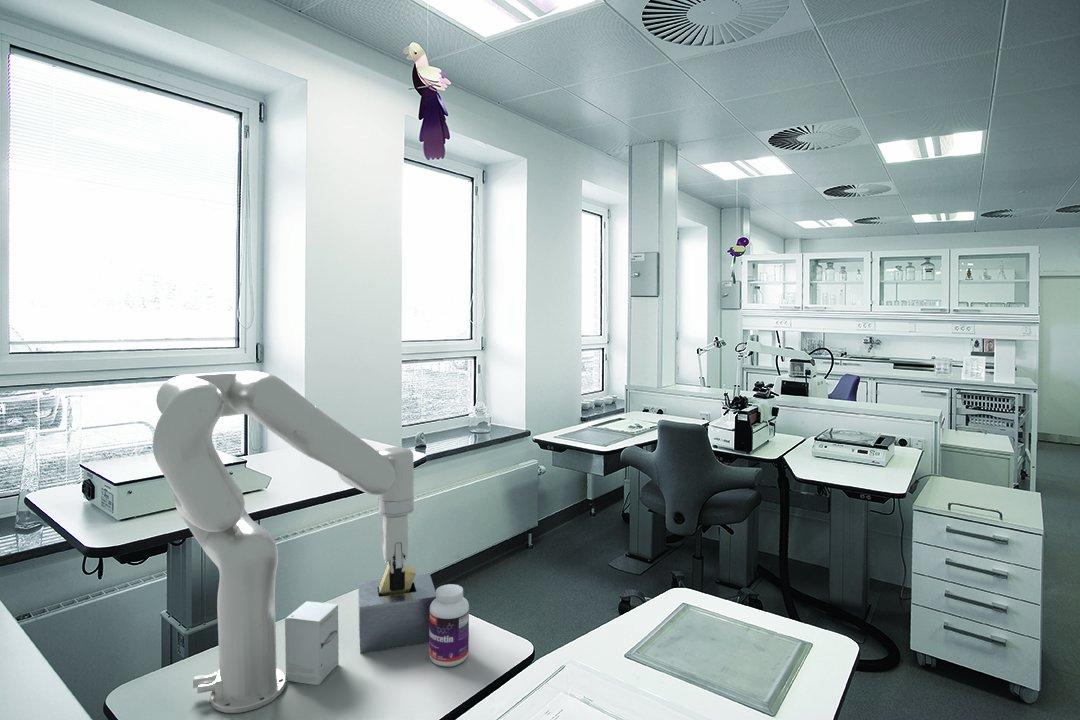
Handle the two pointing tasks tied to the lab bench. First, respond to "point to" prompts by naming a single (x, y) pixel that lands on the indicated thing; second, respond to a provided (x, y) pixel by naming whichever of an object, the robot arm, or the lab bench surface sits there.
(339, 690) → the lab bench surface
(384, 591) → the yellow wooden block
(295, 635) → the supplement box
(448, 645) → the pill bottle
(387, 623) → the grey slotted box
